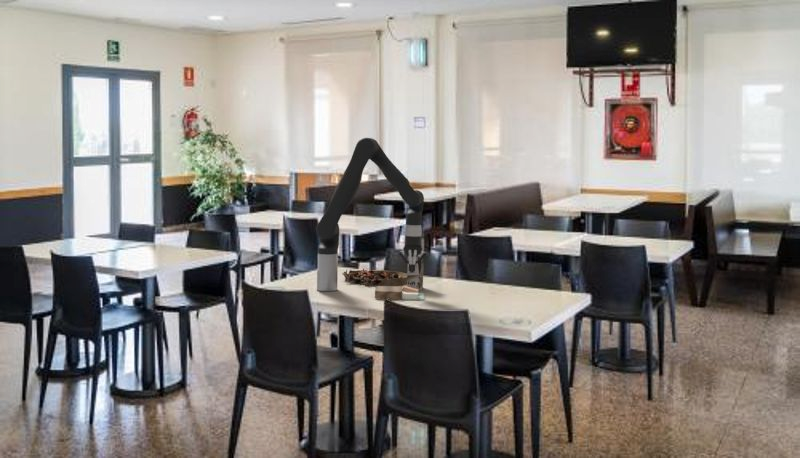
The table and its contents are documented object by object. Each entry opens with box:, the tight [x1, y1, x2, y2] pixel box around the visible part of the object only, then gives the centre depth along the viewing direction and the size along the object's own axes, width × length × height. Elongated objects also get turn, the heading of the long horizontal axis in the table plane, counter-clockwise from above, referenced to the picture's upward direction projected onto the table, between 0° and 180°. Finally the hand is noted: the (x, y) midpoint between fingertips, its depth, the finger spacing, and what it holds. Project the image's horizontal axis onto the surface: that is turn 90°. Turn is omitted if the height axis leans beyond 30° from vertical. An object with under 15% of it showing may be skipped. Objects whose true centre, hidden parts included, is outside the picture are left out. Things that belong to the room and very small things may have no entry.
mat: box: [402, 292, 425, 301], centre depth 376 cm, size 10×14×1 cm
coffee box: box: [406, 253, 424, 292], centre depth 394 cm, size 9×6×16 cm
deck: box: [374, 286, 403, 300], centre depth 376 cm, size 12×12×4 cm
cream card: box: [401, 291, 419, 300], centre depth 372 cm, size 7×4×2 cm, turn 88°
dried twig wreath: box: [342, 267, 407, 287], centre depth 414 cm, size 35×33×8 cm
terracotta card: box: [402, 285, 419, 293], centre depth 379 cm, size 7×4×2 cm, turn 91°
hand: (411, 272), depth 378 cm, fingers closed
